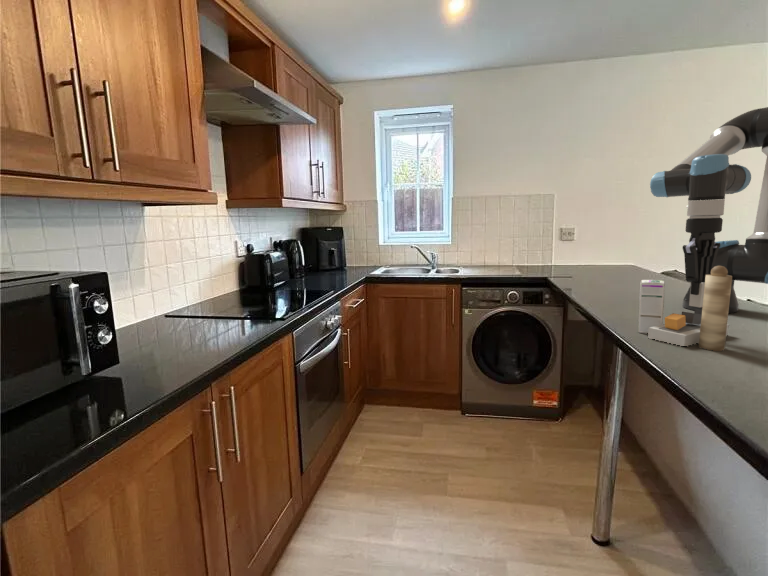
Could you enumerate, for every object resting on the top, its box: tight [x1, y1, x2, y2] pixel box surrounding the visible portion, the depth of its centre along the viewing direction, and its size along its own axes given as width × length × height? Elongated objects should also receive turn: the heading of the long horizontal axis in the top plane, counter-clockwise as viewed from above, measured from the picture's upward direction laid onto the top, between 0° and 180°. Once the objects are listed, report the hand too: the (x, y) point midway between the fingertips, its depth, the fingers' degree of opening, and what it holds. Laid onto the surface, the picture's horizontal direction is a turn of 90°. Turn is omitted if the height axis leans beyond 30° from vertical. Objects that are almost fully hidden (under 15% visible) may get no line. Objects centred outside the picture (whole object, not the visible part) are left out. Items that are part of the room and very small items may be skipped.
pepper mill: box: [698, 266, 732, 352], centre depth 101 cm, size 5×5×20 cm
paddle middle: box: [680, 311, 702, 325], centre depth 111 cm, size 4×3×3 cm
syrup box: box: [637, 279, 666, 334], centre depth 117 cm, size 6×6×14 cm
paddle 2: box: [693, 309, 702, 317], centre depth 113 cm, size 4×3×3 cm
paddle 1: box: [664, 313, 686, 330], centre depth 108 cm, size 4×3×3 cm
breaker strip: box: [647, 321, 730, 347], centre depth 111 cm, size 20×9×3 cm, turn 116°
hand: (696, 306), depth 111 cm, fingers closed
